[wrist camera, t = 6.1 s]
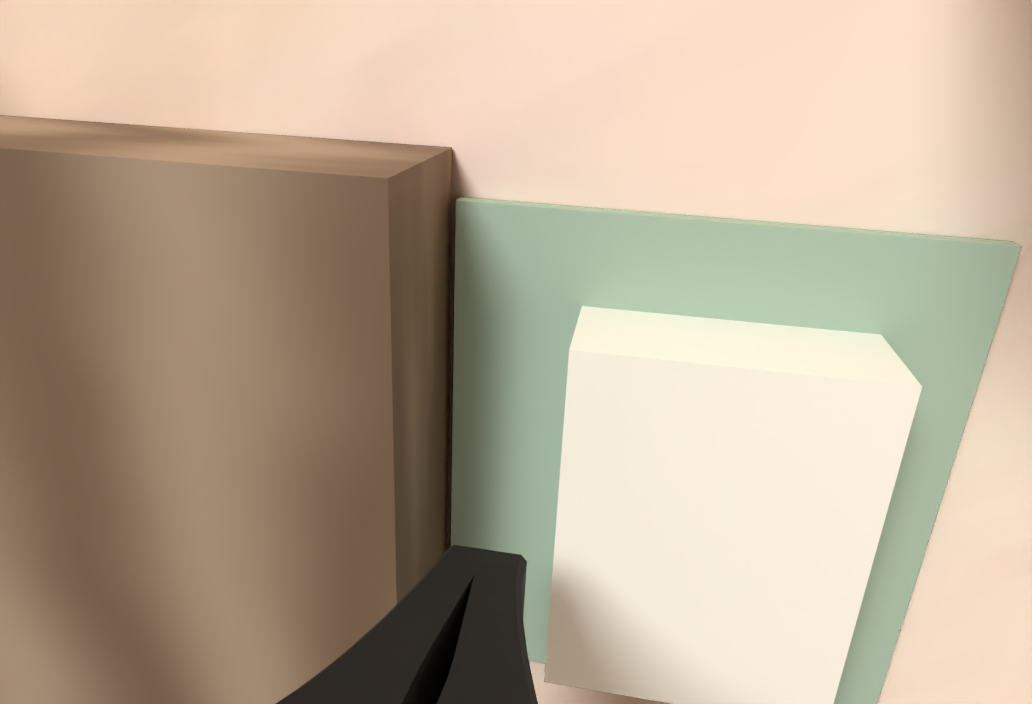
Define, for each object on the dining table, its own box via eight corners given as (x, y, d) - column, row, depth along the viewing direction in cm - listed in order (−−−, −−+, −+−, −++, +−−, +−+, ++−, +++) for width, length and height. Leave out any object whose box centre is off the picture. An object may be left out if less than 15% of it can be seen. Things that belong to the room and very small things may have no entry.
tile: (826, 730, 16) (804, 643, 18) (921, 386, 13) (881, 334, 15) (543, 682, 16) (557, 604, 19) (569, 349, 13) (581, 306, 16)
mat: (453, 636, 20) (449, 647, 20) (460, 196, 16) (455, 200, 15) (868, 705, 19) (872, 719, 18) (1012, 241, 14) (1022, 246, 14)
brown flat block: (15, 636, 23) (-103, 744, 20) (-132, 105, 17) (-343, 121, 14) (445, 715, 21) (401, 851, 18) (452, 147, 15) (388, 178, 12)
